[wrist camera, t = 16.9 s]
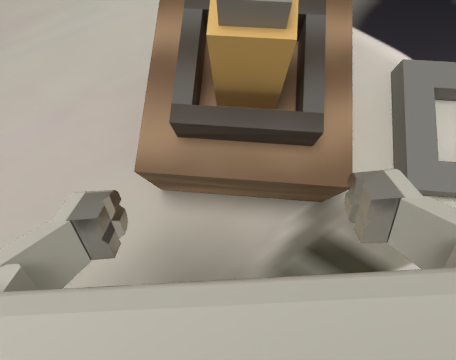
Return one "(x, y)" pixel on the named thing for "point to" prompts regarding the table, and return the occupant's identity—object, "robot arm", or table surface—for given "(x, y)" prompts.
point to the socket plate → (422, 124)
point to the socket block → (249, 112)
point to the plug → (251, 49)
